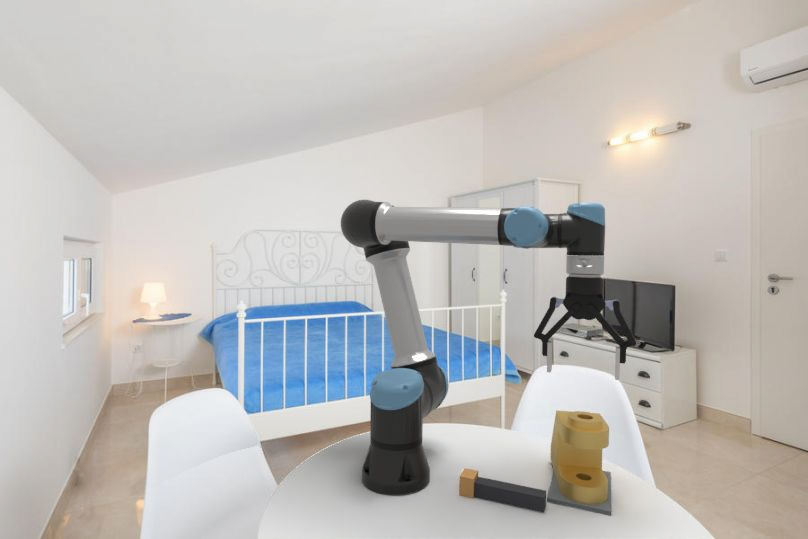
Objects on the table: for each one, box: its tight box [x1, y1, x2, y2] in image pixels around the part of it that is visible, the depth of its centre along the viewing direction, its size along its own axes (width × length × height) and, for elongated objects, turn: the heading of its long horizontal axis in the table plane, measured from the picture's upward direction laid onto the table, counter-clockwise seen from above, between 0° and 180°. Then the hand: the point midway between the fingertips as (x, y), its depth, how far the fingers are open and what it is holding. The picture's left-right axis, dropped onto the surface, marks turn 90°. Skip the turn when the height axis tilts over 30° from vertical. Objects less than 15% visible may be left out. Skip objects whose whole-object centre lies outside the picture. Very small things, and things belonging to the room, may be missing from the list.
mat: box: [546, 470, 612, 516], centre depth 99 cm, size 12×18×1 cm, turn 156°
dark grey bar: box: [458, 468, 547, 514], centre depth 94 cm, size 17×4×4 cm, turn 66°
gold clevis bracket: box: [550, 410, 610, 505], centre depth 101 cm, size 20×9×16 cm, turn 170°
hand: (582, 374), depth 99 cm, fingers open, 13 cm apart
